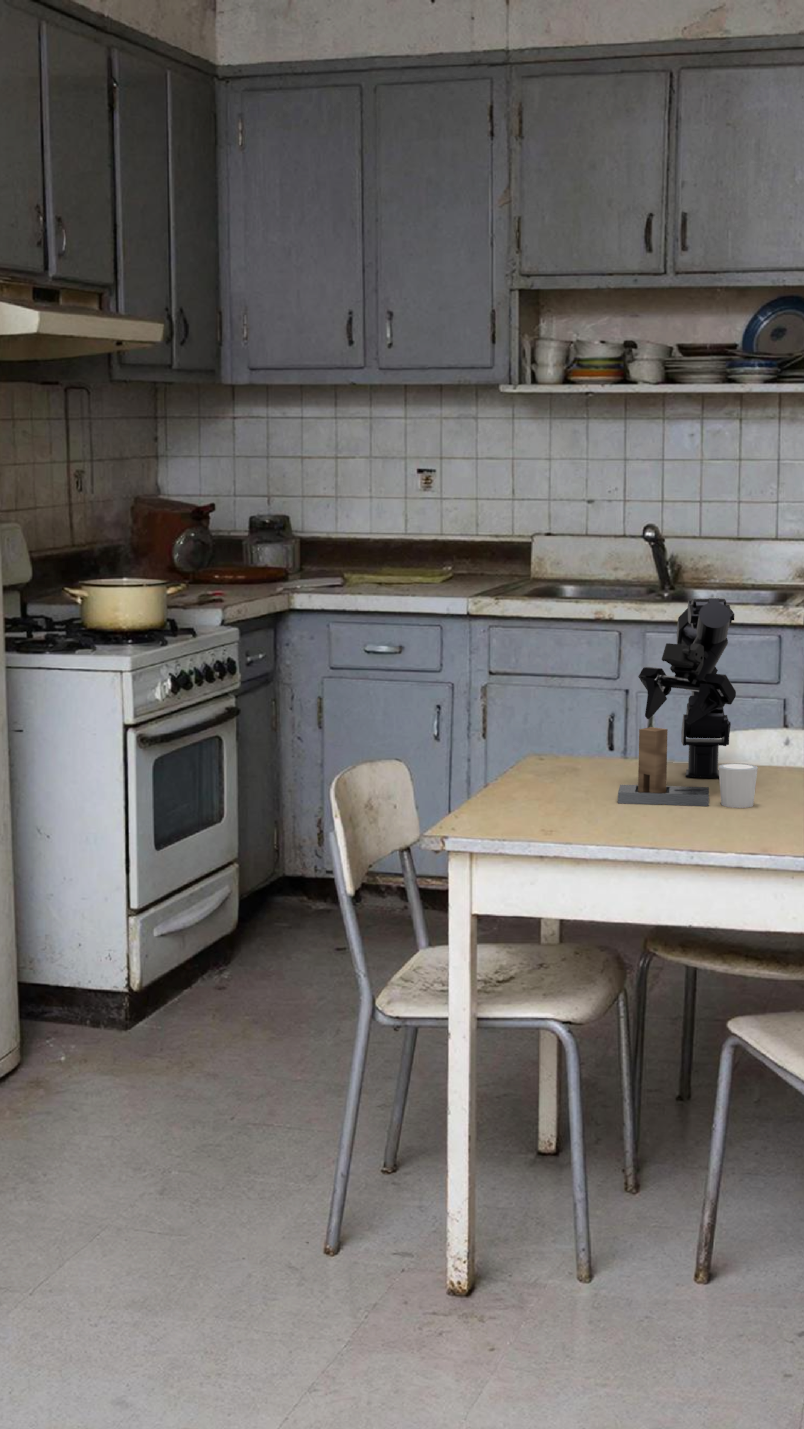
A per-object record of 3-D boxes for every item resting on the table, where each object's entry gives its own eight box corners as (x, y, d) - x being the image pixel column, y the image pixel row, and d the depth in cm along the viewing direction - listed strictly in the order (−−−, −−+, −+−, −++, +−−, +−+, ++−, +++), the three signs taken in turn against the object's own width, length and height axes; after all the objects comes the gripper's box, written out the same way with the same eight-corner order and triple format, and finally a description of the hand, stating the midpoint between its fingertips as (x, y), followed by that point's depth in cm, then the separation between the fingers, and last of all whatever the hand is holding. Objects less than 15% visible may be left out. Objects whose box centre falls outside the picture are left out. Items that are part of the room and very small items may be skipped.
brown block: (649, 797, 306) (651, 727, 304) (666, 800, 303) (667, 729, 301) (637, 800, 303) (639, 729, 301) (654, 803, 301) (655, 731, 299)
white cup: (712, 806, 298) (713, 767, 297) (724, 799, 304) (725, 761, 303) (750, 809, 295) (751, 770, 294) (761, 803, 301) (762, 764, 300)
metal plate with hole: (619, 795, 308) (620, 783, 308) (708, 798, 305) (708, 786, 305) (617, 803, 301) (618, 791, 300) (708, 806, 298) (708, 794, 298)
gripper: (645, 624, 316) (607, 687, 310) (728, 630, 303) (691, 697, 297) (669, 662, 322) (633, 725, 316) (752, 670, 309) (716, 736, 303)
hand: (666, 720), depth 308 cm, fingers open, 9 cm apart
